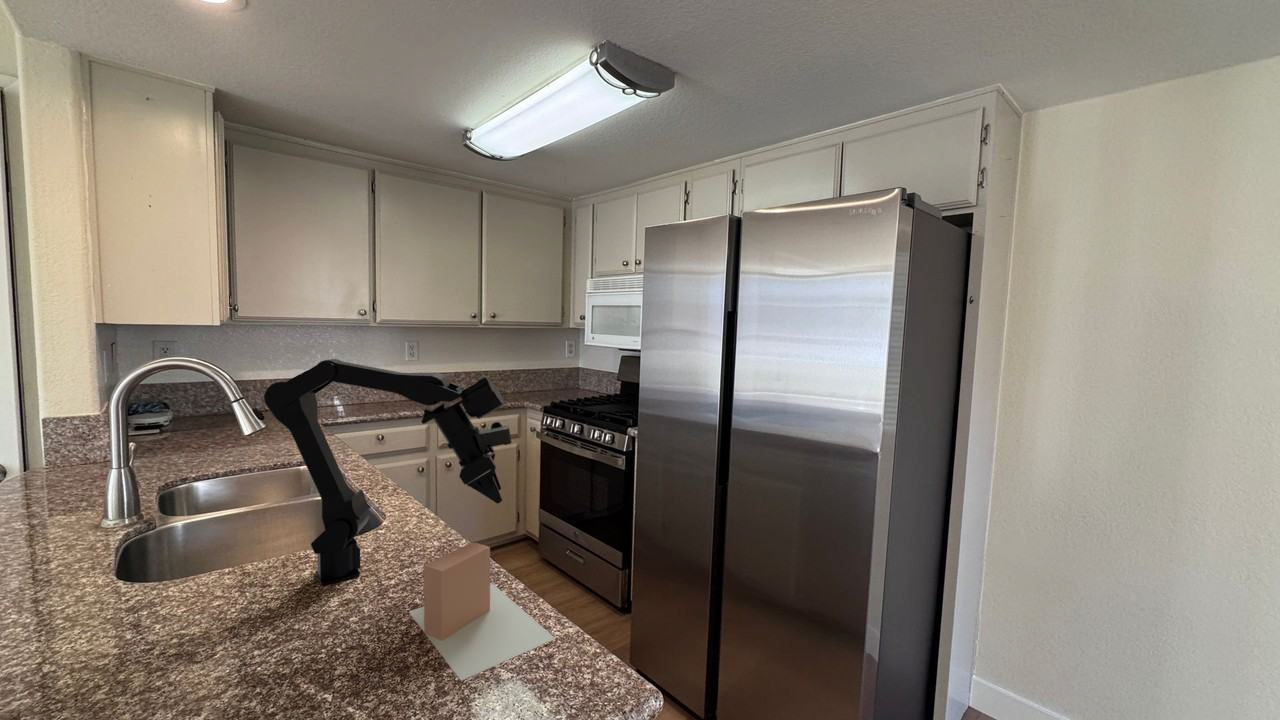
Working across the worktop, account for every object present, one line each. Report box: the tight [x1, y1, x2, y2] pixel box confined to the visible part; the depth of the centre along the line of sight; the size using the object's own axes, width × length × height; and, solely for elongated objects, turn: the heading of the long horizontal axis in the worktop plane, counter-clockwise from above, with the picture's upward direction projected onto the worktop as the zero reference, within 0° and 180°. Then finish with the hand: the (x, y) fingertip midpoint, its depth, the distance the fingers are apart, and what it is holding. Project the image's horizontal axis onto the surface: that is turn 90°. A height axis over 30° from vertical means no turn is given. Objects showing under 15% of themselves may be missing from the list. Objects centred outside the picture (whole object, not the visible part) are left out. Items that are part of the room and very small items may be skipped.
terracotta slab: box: [423, 541, 491, 641], centre depth 84 cm, size 4×10×11 cm, turn 151°
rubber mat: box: [408, 583, 556, 682], centre depth 84 cm, size 15×22×1 cm
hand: (499, 495), depth 105 cm, fingers open, 9 cm apart
